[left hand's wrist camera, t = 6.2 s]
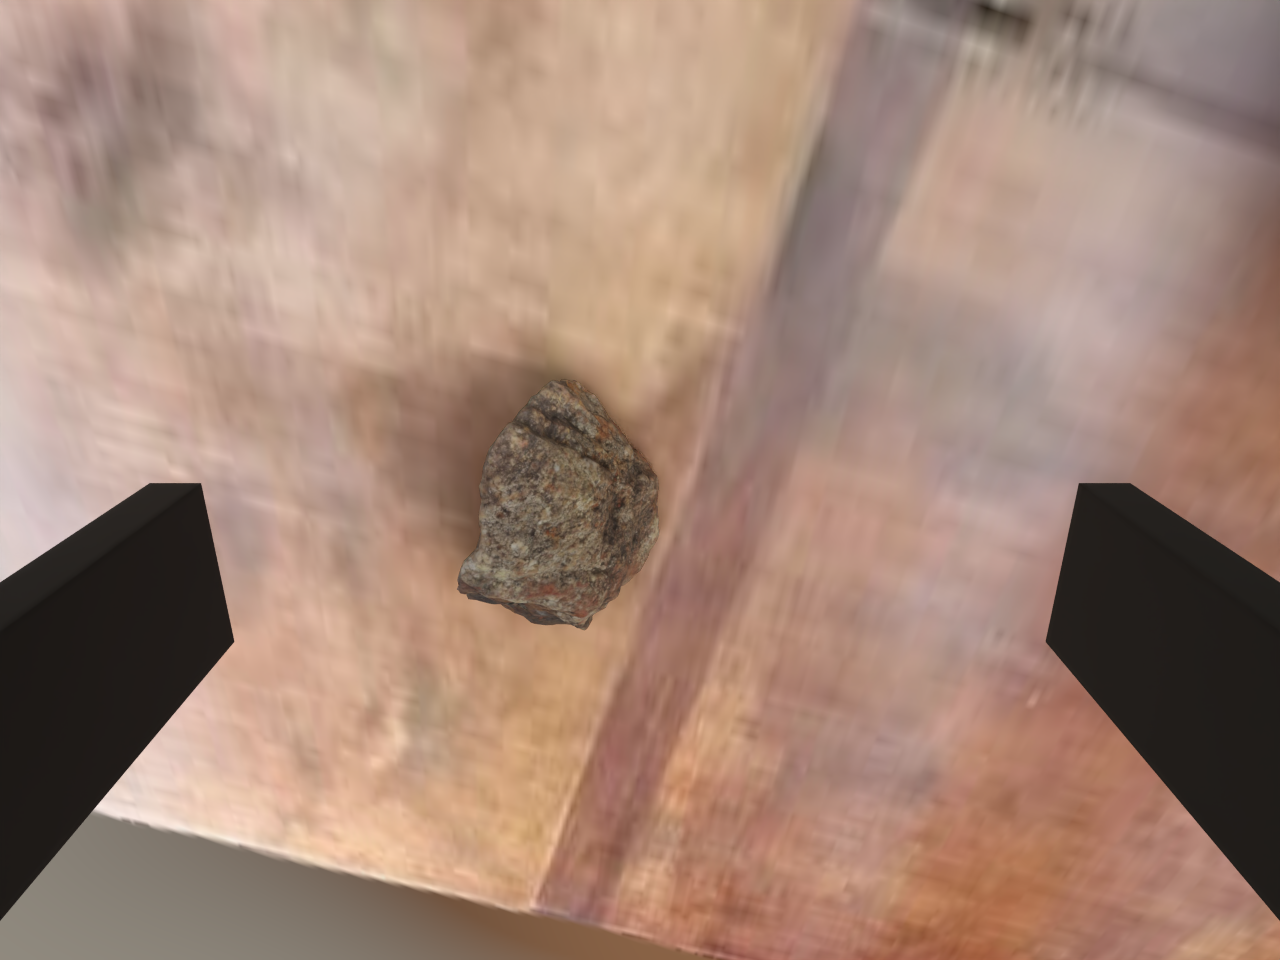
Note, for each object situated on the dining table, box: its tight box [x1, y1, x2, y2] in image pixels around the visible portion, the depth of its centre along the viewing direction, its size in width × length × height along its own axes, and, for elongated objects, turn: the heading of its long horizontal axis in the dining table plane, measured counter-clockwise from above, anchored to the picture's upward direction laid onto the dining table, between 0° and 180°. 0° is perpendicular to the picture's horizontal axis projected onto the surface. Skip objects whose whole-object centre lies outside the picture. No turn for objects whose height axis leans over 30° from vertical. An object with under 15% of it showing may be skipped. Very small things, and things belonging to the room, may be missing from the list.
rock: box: [457, 380, 659, 630], centre depth 41 cm, size 14×9×10 cm
